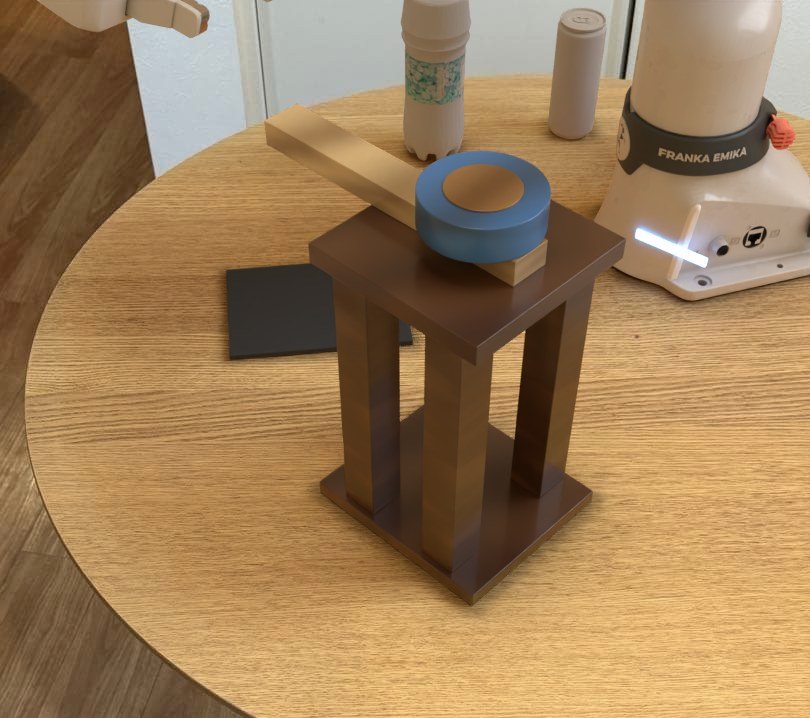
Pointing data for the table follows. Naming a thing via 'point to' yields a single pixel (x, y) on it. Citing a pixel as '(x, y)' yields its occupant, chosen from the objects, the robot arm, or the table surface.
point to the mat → (284, 312)
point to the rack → (459, 393)
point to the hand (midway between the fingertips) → (242, 6)
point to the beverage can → (576, 72)
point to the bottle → (434, 75)
